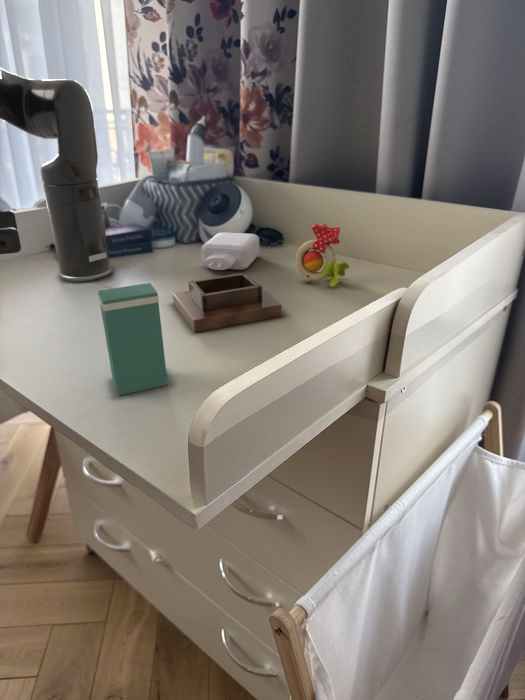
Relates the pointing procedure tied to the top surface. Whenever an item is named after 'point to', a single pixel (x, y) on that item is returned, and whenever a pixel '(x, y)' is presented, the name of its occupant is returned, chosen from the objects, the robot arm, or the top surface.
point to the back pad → (134, 337)
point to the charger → (230, 251)
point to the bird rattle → (320, 256)
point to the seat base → (225, 302)
